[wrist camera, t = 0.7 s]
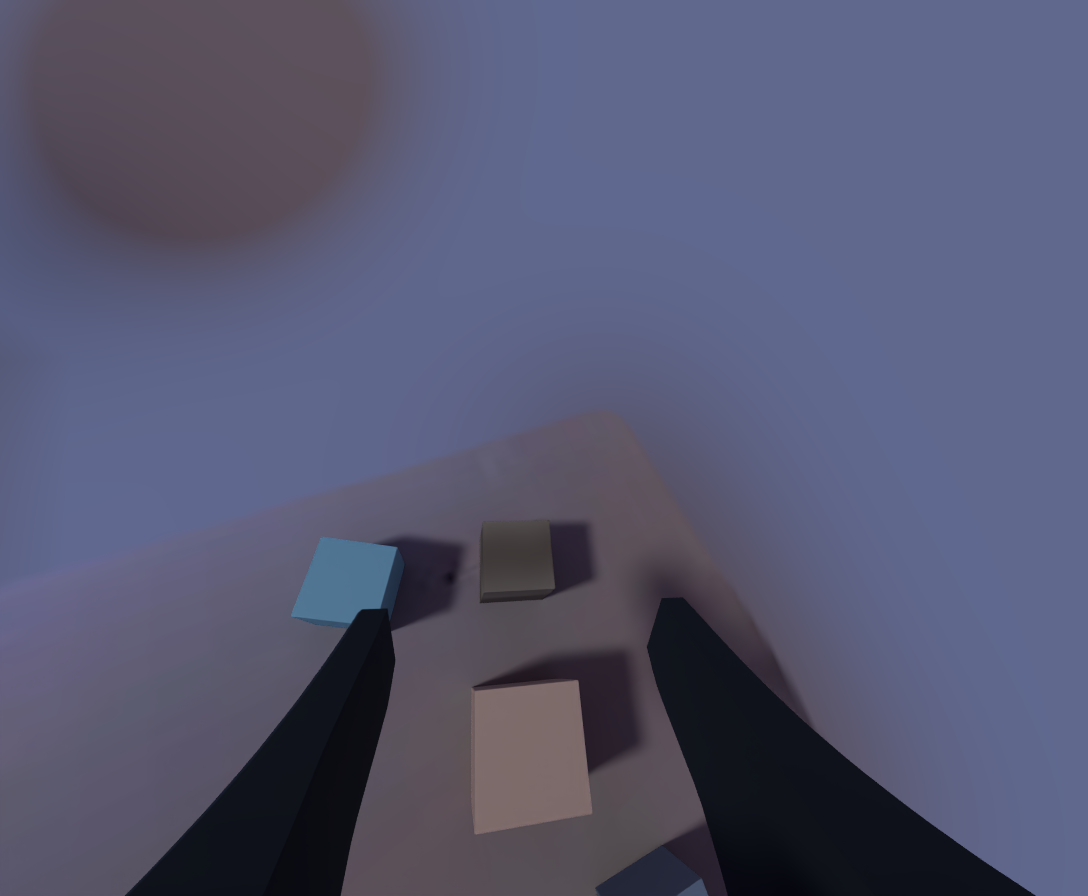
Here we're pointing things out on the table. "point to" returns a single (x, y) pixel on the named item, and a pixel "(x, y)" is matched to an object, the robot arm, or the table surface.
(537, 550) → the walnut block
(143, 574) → the table surface
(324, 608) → the dull teal block
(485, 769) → the terracotta block
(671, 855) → the charcoal block
